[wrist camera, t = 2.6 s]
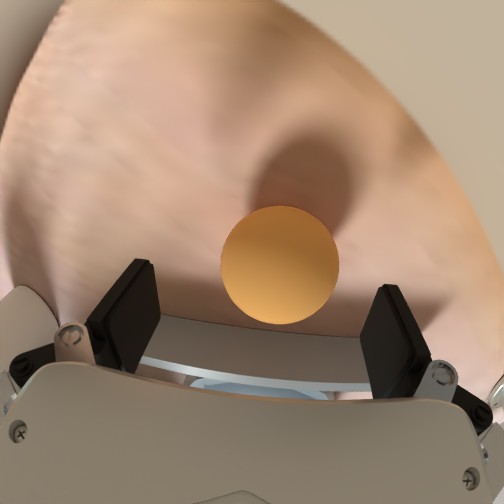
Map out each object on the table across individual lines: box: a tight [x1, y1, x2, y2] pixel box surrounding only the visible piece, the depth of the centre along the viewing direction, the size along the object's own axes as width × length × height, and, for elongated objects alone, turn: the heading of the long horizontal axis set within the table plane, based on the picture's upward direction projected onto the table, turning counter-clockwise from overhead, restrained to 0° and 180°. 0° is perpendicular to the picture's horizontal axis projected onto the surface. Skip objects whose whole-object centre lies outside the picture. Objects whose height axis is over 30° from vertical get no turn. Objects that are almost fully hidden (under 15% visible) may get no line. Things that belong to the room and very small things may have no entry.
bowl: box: [183, 374, 335, 400], centre depth 24 cm, size 14×14×2 cm
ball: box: [221, 206, 339, 324], centre depth 14 cm, size 6×6×6 cm
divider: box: [139, 314, 371, 392], centre depth 19 cm, size 24×1×4 cm, turn 86°
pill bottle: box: [0, 286, 59, 372], centre depth 18 cm, size 8×8×15 cm
